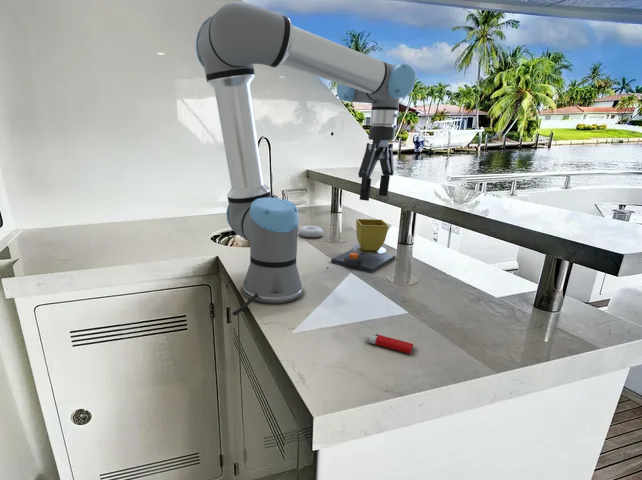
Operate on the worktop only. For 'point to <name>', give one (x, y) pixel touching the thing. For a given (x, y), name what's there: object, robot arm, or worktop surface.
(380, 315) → the worktop surface
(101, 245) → the worktop surface
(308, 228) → the donut
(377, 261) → the scale
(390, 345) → the lighter
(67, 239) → the worktop surface
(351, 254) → the tare button
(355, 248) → the scale pan
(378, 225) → the flower pot
